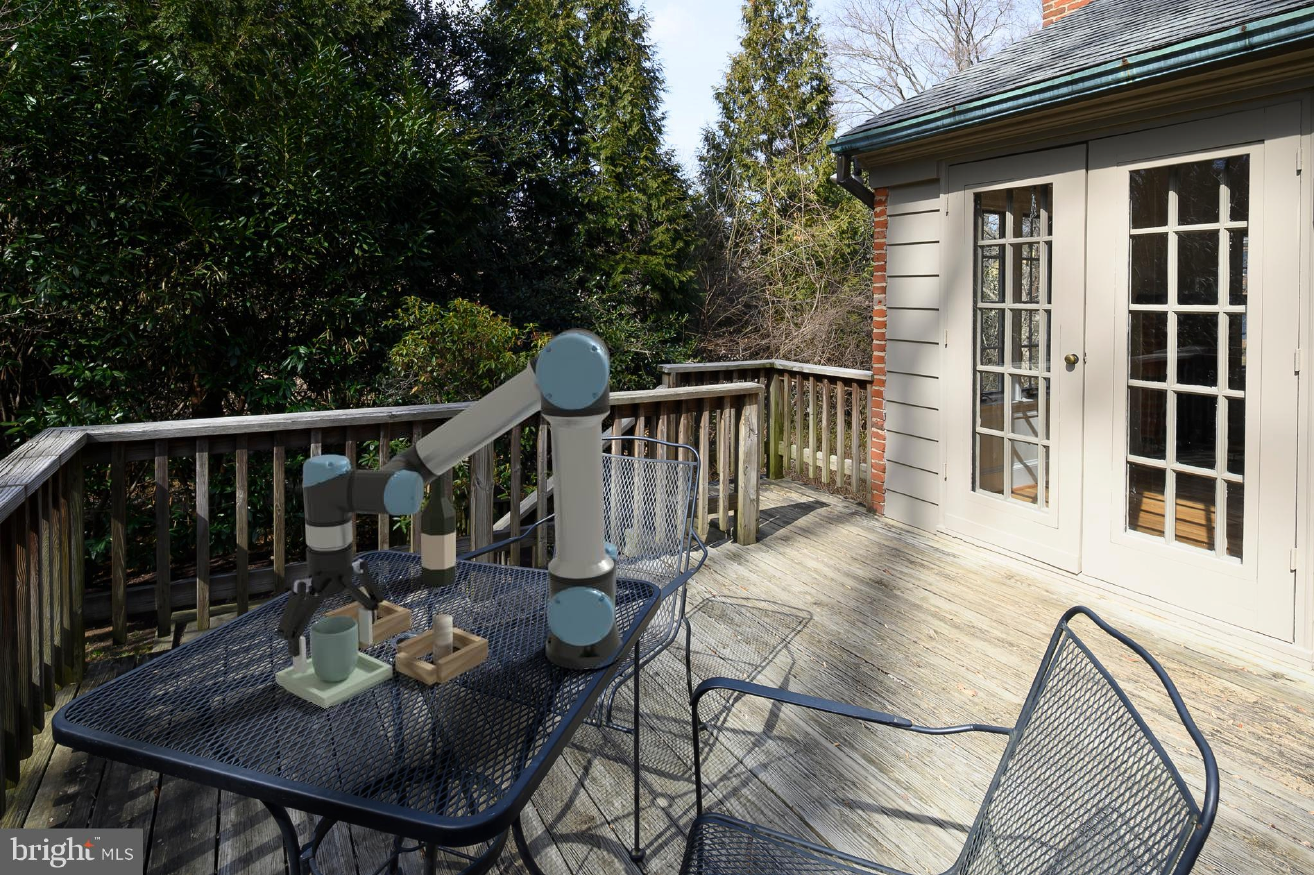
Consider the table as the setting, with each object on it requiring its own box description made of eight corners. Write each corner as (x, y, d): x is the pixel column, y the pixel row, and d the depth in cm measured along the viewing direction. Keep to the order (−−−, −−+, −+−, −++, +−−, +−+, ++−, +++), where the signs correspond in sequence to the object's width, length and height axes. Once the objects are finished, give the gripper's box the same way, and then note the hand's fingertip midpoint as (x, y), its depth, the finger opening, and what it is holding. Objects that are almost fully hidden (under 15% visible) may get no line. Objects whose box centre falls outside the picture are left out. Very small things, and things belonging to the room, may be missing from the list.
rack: (493, 656, 156) (493, 613, 154) (435, 687, 143) (434, 641, 141) (378, 610, 173) (377, 571, 171) (317, 635, 161) (315, 593, 159)
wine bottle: (447, 588, 187) (446, 464, 180) (414, 584, 188) (412, 460, 182) (462, 575, 195) (462, 456, 188) (431, 571, 196) (429, 453, 190)
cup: (302, 680, 142) (300, 628, 140) (335, 662, 149) (333, 612, 147) (336, 691, 139) (334, 638, 137) (368, 671, 146) (366, 621, 144)
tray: (392, 677, 146) (392, 666, 146) (325, 710, 135) (324, 698, 134) (343, 654, 153) (343, 644, 153) (275, 684, 142) (275, 673, 141)
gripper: (374, 522, 151) (378, 626, 155) (248, 559, 130) (256, 677, 135) (401, 530, 147) (404, 636, 151) (275, 569, 126) (282, 691, 131)
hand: (334, 656), depth 143 cm, fingers open, 13 cm apart
